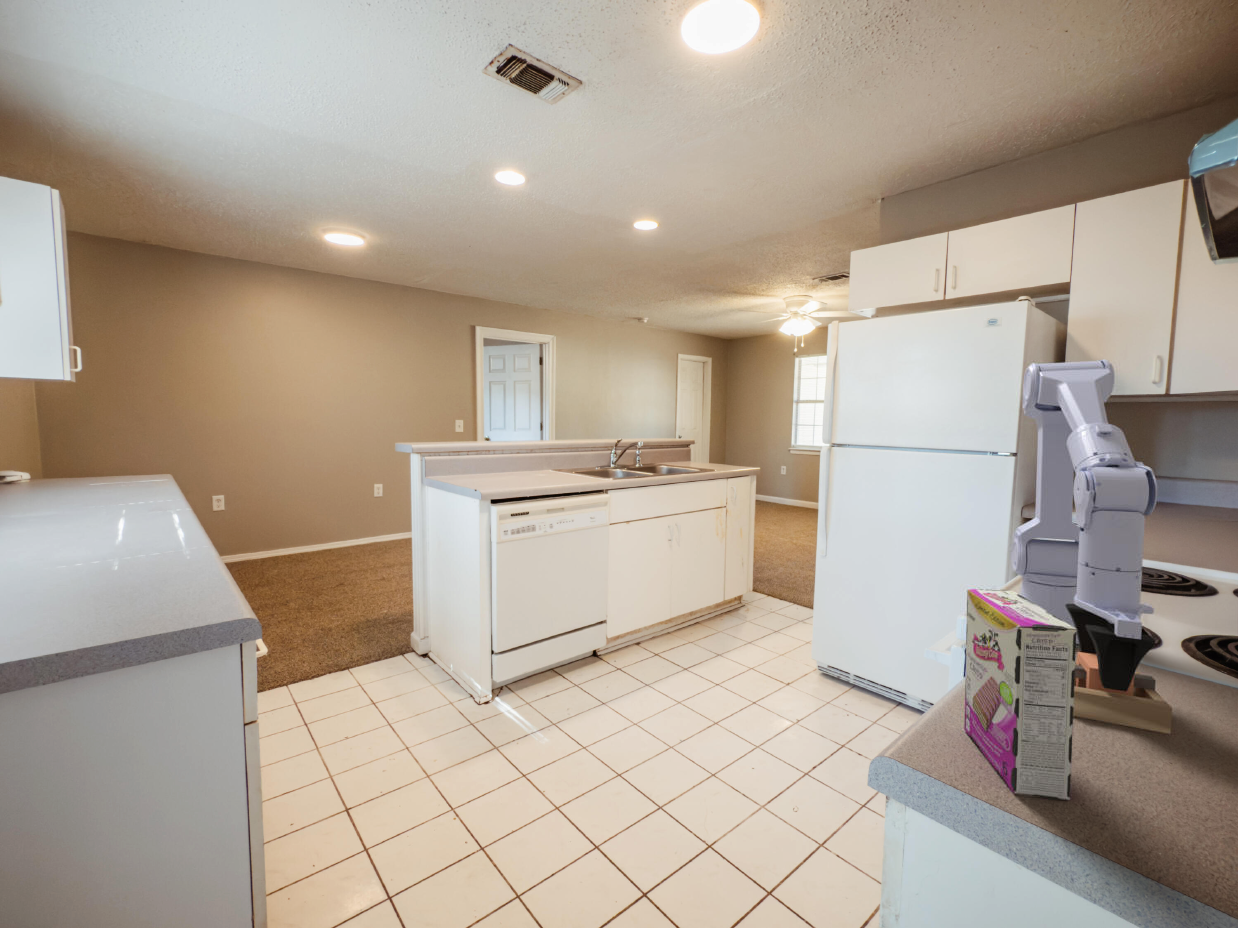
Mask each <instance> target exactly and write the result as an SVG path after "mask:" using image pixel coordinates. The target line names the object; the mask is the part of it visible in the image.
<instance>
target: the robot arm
mask: <svg viewBox="0 0 1238 928" xmlns="http://www.w3.org/2000/svg"><path fill="white" fill-rule="evenodd" d="M1022 386H1023V387H1022V409H1023V414H1024V415H1023V416H1026V417H1028V418H1031V419H1034V420H1035V424H1036V428H1037V449H1036V451H1037V453H1036V456H1037V457H1036V487H1035V489H1036V490H1035V514H1034V515H1035V517H1034V518H1032V519H1031V520H1028V521H1026V522H1025V523H1023V524H1022V525H1020V526H1018V527H1017V528H1015V531H1014V532H1013V542H1012V545H1011V554H1010V555H1011V557H1010V560H1011V566H1012V571H1014V573H1016V575H1018V576H1020V577H1021V578H1022V579H1021V584H1020V587H1019V589H1020V590H1019V595H1021V596H1023V597H1024V598H1026V599H1028V600H1029V601H1031V602H1033V603H1034V604H1036V605H1037V606H1039V607H1041V608H1042V609H1044V610H1046V611H1047V612H1049V613H1051V614H1052V615H1054V616H1056V617H1057V618H1059V619H1061V620H1062V621H1064V622H1066V623H1067V624H1069V625H1071V626H1073V627H1074V628H1076V629H1077V633H1076V645H1078V647H1079V650H1080V651H1079V652H1082V653H1089V654H1096V655H1097V660H1098V669H1099V676H1100V680H1101V683H1102V686H1103V687H1104V688H1107V689H1113V690H1119V691H1125V692H1126V691H1127V690H1128V688H1129V686H1130V684H1131V681H1132V679H1133V676H1134V674H1135V671H1137V668H1138V666H1139V665H1140V663H1141V661H1142V660H1143V658H1144V657H1145V656H1146V654H1147V653H1148V652H1149V651H1151V650H1152V649H1153V648H1154V647H1155V645H1156V639H1155V638H1154V637H1153V636H1151V635H1149V634H1144V633H1143V634H1142V628H1143V627H1142V626H1143V622H1142V621H1141V618H1142V615H1144V614H1148V615H1153V614H1154V611H1155V609H1154V607H1153V606H1151V604H1148V603H1142V602H1141V598H1142V597H1141V595H1142V594H1141V593H1142V578H1143V576H1142V575H1143V562H1144V561H1143V557H1144V542H1145V541H1144V540H1145V526H1146V523H1145V521H1146V517H1147V516H1151V514H1152V513H1153V512H1154V510H1155V507H1156V505H1157V502H1158V501H1157V500H1158V483H1157V479H1156V476H1155V473H1154V470H1153V469H1152V468H1151V467H1149V466H1147V465H1145V464H1144V463H1143V462H1142V461H1137V460H1135V457H1134V456H1133V453H1132V451H1131V448H1130V446H1129V444H1128V441H1127V438H1126V435H1125V433H1124V432H1123V430H1122V429H1121V428H1120V427H1118V426H1116V425H1114V424H1110V423H1109V422H1108V416H1107V412H1106V408H1105V407H1106V406H1105V403H1106V402H1107V401H1108V399H1109V398H1110V397H1111V395H1112V393H1113V389H1114V386H1115V369H1114V366H1113V365H1112V363H1111V362H1110V361H1109V360H1108V359H1099V360H1090V361H1089V360H1088V361H1069V362H1051V363H1050V362H1049V363H1037V362H1032V363H1031V364H1030V365H1029V366H1028V367H1027V368H1026V369H1025V372H1024V377H1023V384H1022ZM1074 473H1075V474H1074ZM1073 501H1074V507H1075V523H1074V522H1073ZM1145 516H1146V517H1145Z"/></svg>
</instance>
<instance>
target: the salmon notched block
mask: <svg viewBox="0 0 1238 928" xmlns="http://www.w3.org/2000/svg"><path fill="white" fill-rule="evenodd" d="M1076 662H1077V665H1081V666H1082V667H1083V668H1084V669H1085V671H1086V672H1087V677H1086V679H1081V678H1076V687H1082V688H1088V689H1094V690H1100V691H1106V692H1111V693H1117V694H1123V695H1129V696H1133V686H1134V676H1133V679H1132V681H1131V684H1130V686H1129V688H1128V690H1127V691H1126V692H1125V691H1119V690H1113V689H1107V688H1104V687H1103V686H1102V683H1101V680H1100V676H1099V669H1098V660H1097V655H1096V654H1089V653H1082V652H1080V651H1077V653H1076Z"/></svg>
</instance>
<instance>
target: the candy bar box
mask: <svg viewBox="0 0 1238 928" xmlns="http://www.w3.org/2000/svg"><path fill="white" fill-rule="evenodd" d="M966 595H967V596H966V636H965V637H966V642H965V687H964V688H965V691H964V692H965V695H964V727H963V729H964V731H965V732H966V733H967V735H968V736H969V738H970V739H971V740H972V741H973V742H974V744H975V745H976V746H977V747H978V749H979V751H981V752H982V754H983V755H984V756H985V758H986V759H987V760H988V762H989V763H990V764H991V765H992V767H993V769H994V770H995V771H996V772H997V773H998V774H999V776H1000V777H1001V778H1002V780H1003V781H1004V783H1005V784H1006V785H1007V786H1008V788H1009V789H1010V790H1011V792H1012V793H1013V794H1015V795H1018V796H1024V797H1031V798H1032V797H1033V798H1034V797H1035V798H1044V799H1054V800H1061V801H1062V800H1063V801H1070V800H1071V783H1072V781H1071V780H1072V760H1073V759H1072V756H1073V730H1074V729H1073V728H1074V716H1073V712H1074V685H1075V662H1076V654H1077V653H1076V649H1077V644H1076V633H1077V629H1076V628H1074V627H1073V626H1071V625H1069V624H1067V623H1066V622H1064V621H1062V620H1061V619H1059V618H1057V617H1056V616H1054V615H1052V614H1051V613H1049V612H1047V611H1046V610H1044V609H1042V608H1041V607H1039V606H1037V605H1036V604H1034V603H1033V602H1031V601H1029V600H1028V599H1026V598H1024V597H1023V596H1021V595H1020V593H1018V592H1016V591H1013V590H1003V589H1002V590H1001V589H1000V590H999V589H983V588H982V589H980V588H973V589H972V588H971V589H967V591H966Z"/></svg>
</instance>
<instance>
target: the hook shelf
mask: <svg viewBox="0 0 1238 928" xmlns="http://www.w3.org/2000/svg"><path fill="white" fill-rule="evenodd" d="M1086 677H1087V672H1086V671H1085V669H1084V668H1083V667H1082V666H1081V665H1077V661H1075V685H1074V712H1073V717H1078V718H1081V719H1082V718H1083V719H1089V720H1093V721H1094V720H1095V721H1099V722H1103V723H1104V722H1105V723H1108V724H1109V723H1110V724H1116V725H1121V726H1124V727H1131V728H1137V729H1143V730H1147V731H1148V730H1149V731H1151V732H1157V733H1163V734H1168V735H1171V732H1172V730H1171V729H1172V728H1171V727H1172V713H1173V711H1172V710H1173V708H1172V706H1171V705H1170V704H1169V703H1168V702H1167V701H1166V700H1165V699H1164V697H1162V696H1161V695H1160V693H1158V692H1157V691H1156V682H1157V681H1156V679H1155V678H1154V677H1153V676H1152V675H1147V674H1141V673H1139V671H1137V670H1136V671H1135V674H1134V686H1133V696H1129V695H1123V694H1117V693H1111V692H1106V691H1100V690H1094V689H1088V688H1082V687H1076V678H1081V679H1086Z"/></svg>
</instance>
